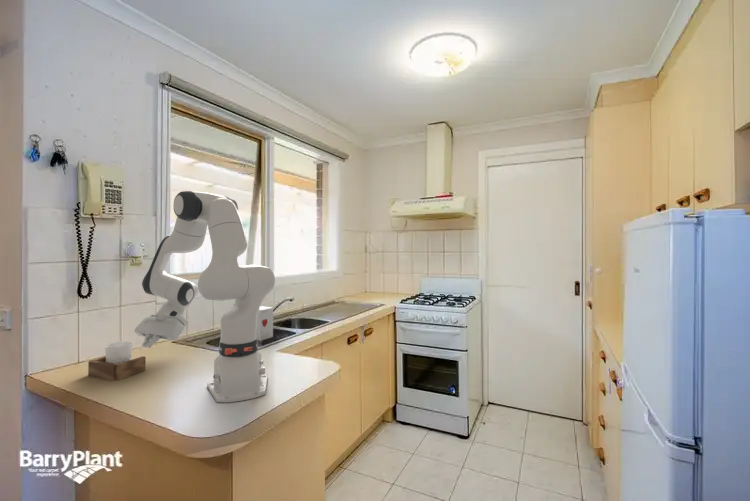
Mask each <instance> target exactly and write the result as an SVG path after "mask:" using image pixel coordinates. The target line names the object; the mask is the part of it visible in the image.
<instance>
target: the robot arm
mask: <svg viewBox="0 0 750 501" xmlns="http://www.w3.org/2000/svg"><path fill="white" fill-rule="evenodd" d="M238 205H239V204H238V203H237V201H236V199H234V198H233V197H230V196H226V195H220V194H215V193H210V192H202V191H192V190H182V191H180V192H178V193H177V194H176V195H175V197H174V199H173V211H174V214H175V216H176V219H175V222H174V223H175V224H174V227H173V231H172V233H171V234H169V235H167V236H165V237H164V238H163V239H162V240H161V241H160V243H159V245H158V247H157V250H156V252H155V254H154V256H153V260H152V261H151V264H150V266H149V269H148V271H147V272H146V274H145V276H144V277H143V278H142V282H141V286H142V289H143V291H144V292H145V294H147V295H151V296H155V297H159V298H161V299H165V300H167V301H166V302H164V303H163V304H162V306H160V308H159V309H158V311H157V312H156V313H155V314H151V315H149V316H146V317H145V318H144V319H142V320H141V321H140V322H139V324H138V325H137V326H136V327H135V328H134V333H135V334H136V335H137V336H139V337H144V342H142V344H141V346H143V347H144V348H149V349H150V348H152V346H153V345H155V344H156V343H157V342H158V341H160V339H161V340H167V341H175V340H177V339H178V338H179V337H180V336H181V334H182V333H183V331H184V330H185V328H186V326H188V324H189V320H188V319H187V318H186V317H185V316H184V314H185V312H186V310H188V309H189V308H190V307H191V305H192V304H193V302H194V301H195V299H196V298H197V296H198V294H199V293H200V295H201V296H202V298H204V299H205V300H208V301H218V302H219V301H222V302H223V301H231V300H234V304H233V306H232V307H231V308H230V309H229V310H227V311H226V312H225V313H223V315H222V317H221V320H220V340H219V342H218V344H219V345H218V353H219V354H218V355H217V357H216V358H215V359H213V360H214V361H213V377H212V378H213V380H211V381H209V382H207V384H206V388H207V389H208V390H209V392H210V394H211V396H212V397H213V399H214V400H215V402H217V403H233V402H241V401H246V400H252V399H255V398H259V397H261V396H265V395H266V393H267V387H268V379H269V376H268V374H266V367H265V366H263V365H264V360H263V359H262V353H260V352H259V351H258V348H259V347H258V346H259V341H258V340H257V338H256V325H257V315H258V311H259V308H260V306H262V303H263V301H264V300H265V298H266V297H267V295H268V294H270V293H271V292H272V291H273V289H274V287H275V283H276V278H275V274H274V272H273V270H272V269H271V268H270V267H269V266H263V265H259V264H249V265H247V264H246V265H243V264H242V265H240V264H239V262H238V258H239V257H240V256H241V255H243V254H245V252H246V251H247V249H248V248H247V247H248V240H247V237H246V233H245V230H244V226H243V221H242V218H241V216H240V213H239V206H238ZM207 230H208V233H209V237H210V238H209V239H210V245H211V250H212V256H211V261H210V262H209V264H208V266H207V267H206V268H205V269H203V271H202V272H201V273H200V275H199V277H198V281H197V284H195V283H194V282H192V281H189V280H187V279H184V278H183V277H179V276H175V275H172V274H171V273H170V274H169V273H168V272H167V271H166V270H165V269H166V267H167V264H168V263H169V259H170V257H171V255H172V254H187V253H191V252H192V253H193V252H194V251H198V250H199V249H200V248H201V247H202V245H203V244H204V241H205V238H206V234H207Z"/></svg>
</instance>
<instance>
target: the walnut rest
mask: <svg viewBox="0 0 750 501" xmlns="http://www.w3.org/2000/svg"><path fill="white" fill-rule="evenodd" d="M146 360H147V359H146V356H142V355H141V356H139V357H136V358H133V359H132V358H131V360H129V361H126V362H122V363H119V364H112V363H106V356H102V357H101V356H100V357H97V358H94V359H90V360H89V361H88V363H87V364H88V365H87V366H88V369H87V370H88V377H91V378H98V379H103V380H106V381H111V382H112V381H113V382H115V381H120V380H123V379H126V378H128V377H132V376H134V375H136V374H139V373H142V372H145V371H146V366H147V365H146V364H147V363H146Z"/></svg>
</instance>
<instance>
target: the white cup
mask: <svg viewBox="0 0 750 501" xmlns="http://www.w3.org/2000/svg"><path fill="white" fill-rule="evenodd" d="M104 353H105V356H106V363H112V364H119V363H122V362H126V361H129V360H132V355H133V354H132V353H133V342H132V341H116V342H111V343H108V344H106V345H105V346H104Z"/></svg>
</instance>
